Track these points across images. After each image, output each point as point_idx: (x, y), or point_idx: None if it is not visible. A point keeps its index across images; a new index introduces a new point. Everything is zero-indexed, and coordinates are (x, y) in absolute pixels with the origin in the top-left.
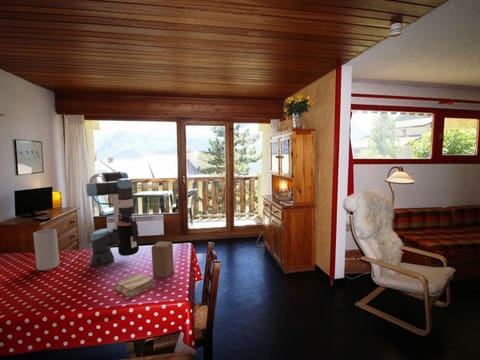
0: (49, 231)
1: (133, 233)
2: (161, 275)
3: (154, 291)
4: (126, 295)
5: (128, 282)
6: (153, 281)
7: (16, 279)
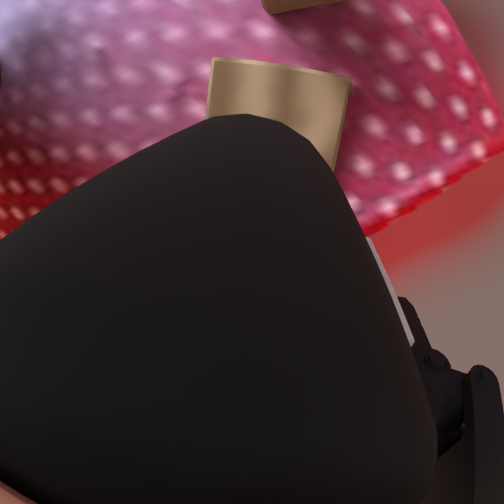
0: None
1: (439, 440)
2: (321, 4)
3: (383, 119)
4: None
5: None
6: (350, 81)
7: None
